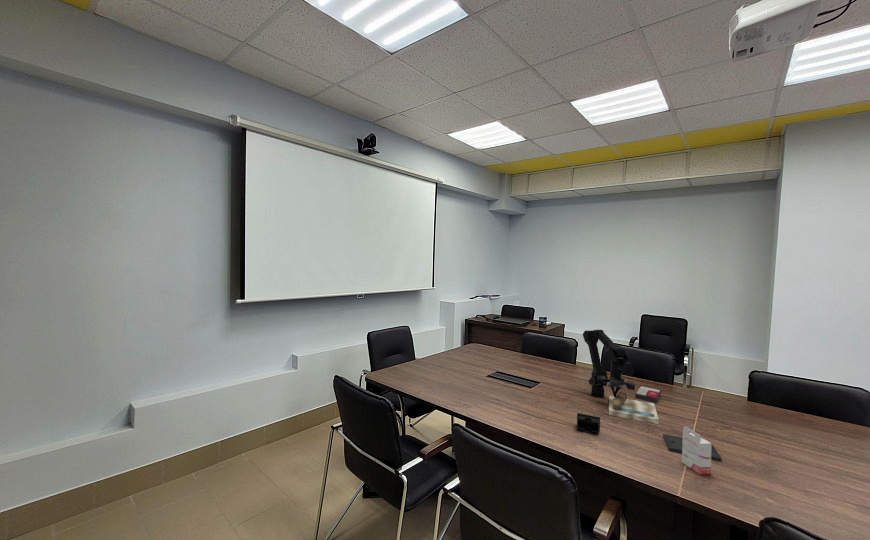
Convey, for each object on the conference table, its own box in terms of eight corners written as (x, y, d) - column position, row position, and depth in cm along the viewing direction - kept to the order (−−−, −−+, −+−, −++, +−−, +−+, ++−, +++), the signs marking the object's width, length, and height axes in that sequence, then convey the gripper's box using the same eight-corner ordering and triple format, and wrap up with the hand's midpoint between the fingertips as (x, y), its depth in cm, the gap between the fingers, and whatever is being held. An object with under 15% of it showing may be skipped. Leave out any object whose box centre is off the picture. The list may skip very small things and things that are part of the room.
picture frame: (711, 447, 149) (663, 438, 156) (711, 442, 149) (663, 433, 156) (721, 463, 137) (668, 452, 144) (721, 457, 137) (668, 446, 144)
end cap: (599, 429, 163) (600, 415, 163) (599, 435, 156) (600, 421, 156) (577, 424, 167) (577, 410, 167) (576, 430, 161) (576, 416, 161)
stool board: (608, 414, 179) (608, 409, 179) (609, 400, 199) (609, 395, 199) (658, 424, 169) (658, 419, 169) (653, 408, 189) (653, 403, 189)
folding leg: (619, 410, 178) (620, 401, 178) (611, 408, 181) (611, 399, 181) (626, 399, 193) (626, 391, 193) (618, 398, 196) (619, 390, 196)
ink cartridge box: (711, 474, 128) (713, 435, 128) (699, 475, 128) (700, 435, 127) (692, 461, 136) (693, 425, 136) (681, 461, 136) (682, 425, 136)
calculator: (635, 392, 203) (640, 385, 215) (635, 399, 203) (640, 391, 215) (657, 397, 196) (661, 389, 207) (656, 404, 196) (660, 396, 208)
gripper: (596, 370, 189) (594, 398, 189) (635, 377, 179) (633, 406, 179) (598, 365, 198) (597, 391, 199) (635, 372, 188) (634, 399, 189)
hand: (614, 397), depth 191 cm, fingers closed
